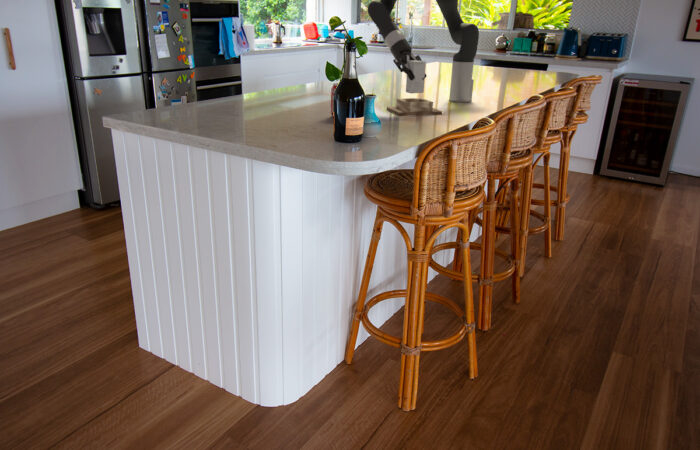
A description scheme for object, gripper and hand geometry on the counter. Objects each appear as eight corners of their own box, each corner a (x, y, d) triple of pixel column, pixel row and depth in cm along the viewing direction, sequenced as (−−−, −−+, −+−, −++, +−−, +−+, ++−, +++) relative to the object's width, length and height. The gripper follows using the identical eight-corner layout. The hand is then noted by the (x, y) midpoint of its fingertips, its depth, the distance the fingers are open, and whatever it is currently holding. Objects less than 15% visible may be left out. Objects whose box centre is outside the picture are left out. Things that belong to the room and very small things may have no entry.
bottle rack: (427, 108, 228) (428, 97, 226) (441, 114, 215) (442, 102, 213) (386, 109, 223) (387, 98, 221) (399, 115, 210) (399, 103, 208)
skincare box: (412, 93, 213) (414, 61, 208) (404, 92, 216) (407, 60, 212) (424, 93, 216) (426, 61, 212) (416, 91, 219) (419, 60, 215)
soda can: (349, 118, 202) (350, 85, 198) (330, 118, 202) (330, 85, 198) (349, 115, 209) (350, 83, 205) (331, 114, 209) (331, 82, 205)
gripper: (391, 38, 209) (413, 73, 205) (415, 37, 218) (436, 71, 215) (380, 51, 214) (401, 86, 211) (404, 50, 224) (424, 83, 220)
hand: (419, 78), depth 213 cm, fingers closed on skincare box, 6 cm apart
